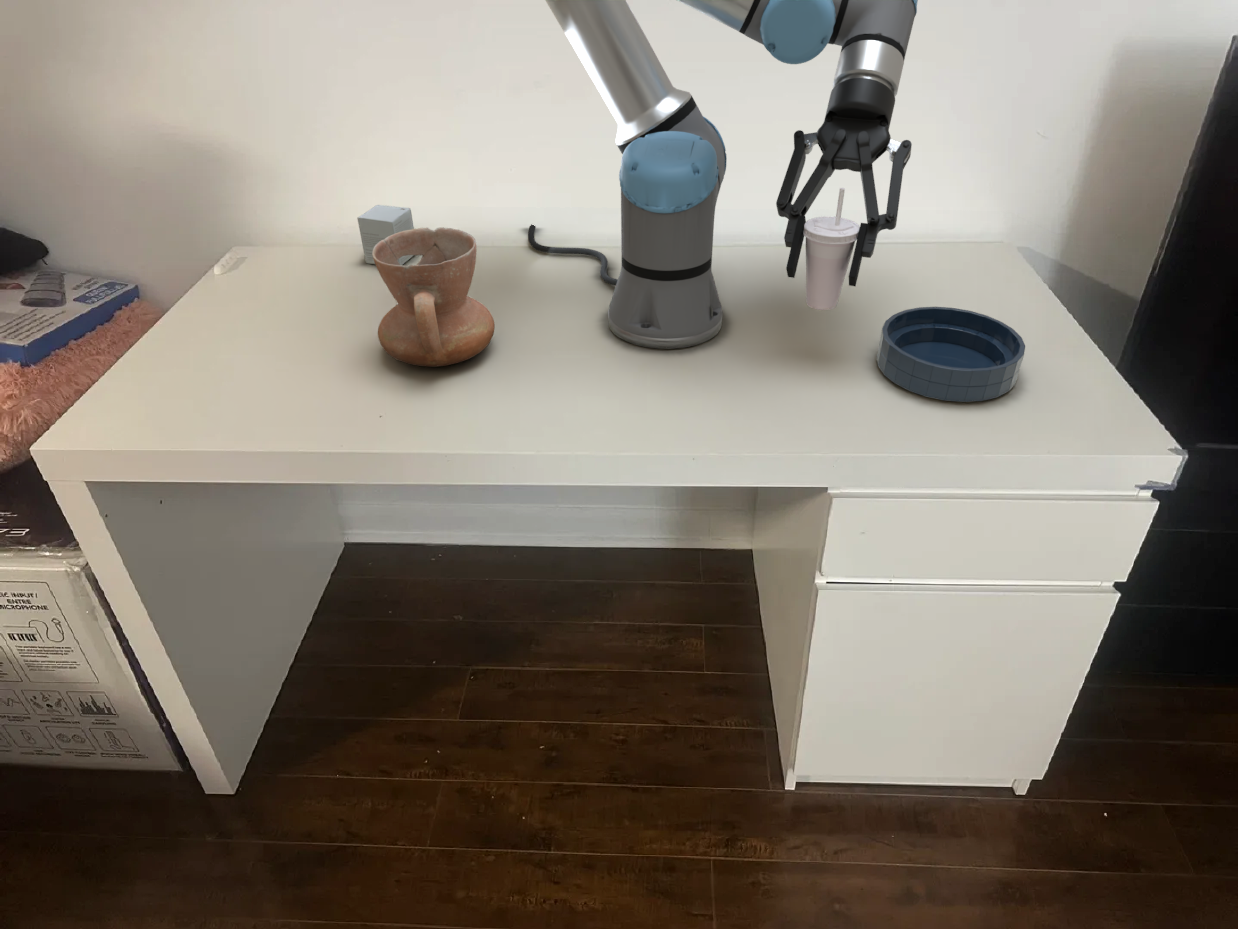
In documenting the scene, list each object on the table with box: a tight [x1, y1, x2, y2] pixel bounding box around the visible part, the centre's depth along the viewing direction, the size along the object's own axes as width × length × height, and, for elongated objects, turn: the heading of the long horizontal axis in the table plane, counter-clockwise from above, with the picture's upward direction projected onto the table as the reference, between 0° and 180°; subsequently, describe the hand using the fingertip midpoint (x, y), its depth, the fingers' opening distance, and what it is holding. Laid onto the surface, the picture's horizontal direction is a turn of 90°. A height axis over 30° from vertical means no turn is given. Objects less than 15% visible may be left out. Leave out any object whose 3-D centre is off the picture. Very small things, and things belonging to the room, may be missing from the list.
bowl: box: [876, 306, 1026, 403], centre depth 105 cm, size 16×16×4 cm
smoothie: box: [803, 187, 860, 311], centre depth 101 cm, size 6×6×14 cm
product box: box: [357, 204, 415, 266], centre depth 134 cm, size 6×6×7 cm
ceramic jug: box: [372, 227, 495, 368], centre depth 107 cm, size 18×14×14 cm
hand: (820, 276), depth 100 cm, fingers closed on smoothie, 6 cm apart
